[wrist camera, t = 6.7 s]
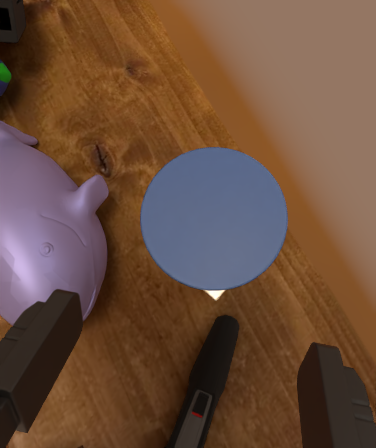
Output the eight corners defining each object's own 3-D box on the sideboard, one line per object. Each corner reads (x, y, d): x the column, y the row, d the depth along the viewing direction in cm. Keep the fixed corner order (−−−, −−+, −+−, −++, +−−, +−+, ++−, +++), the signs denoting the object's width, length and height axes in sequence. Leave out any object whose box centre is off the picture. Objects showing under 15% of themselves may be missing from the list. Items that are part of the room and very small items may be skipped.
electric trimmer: (247, 321, 35) (251, 324, 32) (193, 477, 32) (192, 497, 29) (213, 308, 35) (214, 309, 32) (157, 460, 32) (152, 478, 29)
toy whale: (77, 351, 35) (-104, 399, 21) (15, 171, 44) (-141, 122, 30) (174, 288, 31) (30, 296, 17) (84, 104, 40) (-58, 12, 26)
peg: (274, 241, 24) (318, 207, 14) (216, 309, 23) (221, 323, 14) (206, 186, 25) (204, 119, 15) (150, 250, 24) (110, 223, 15)
